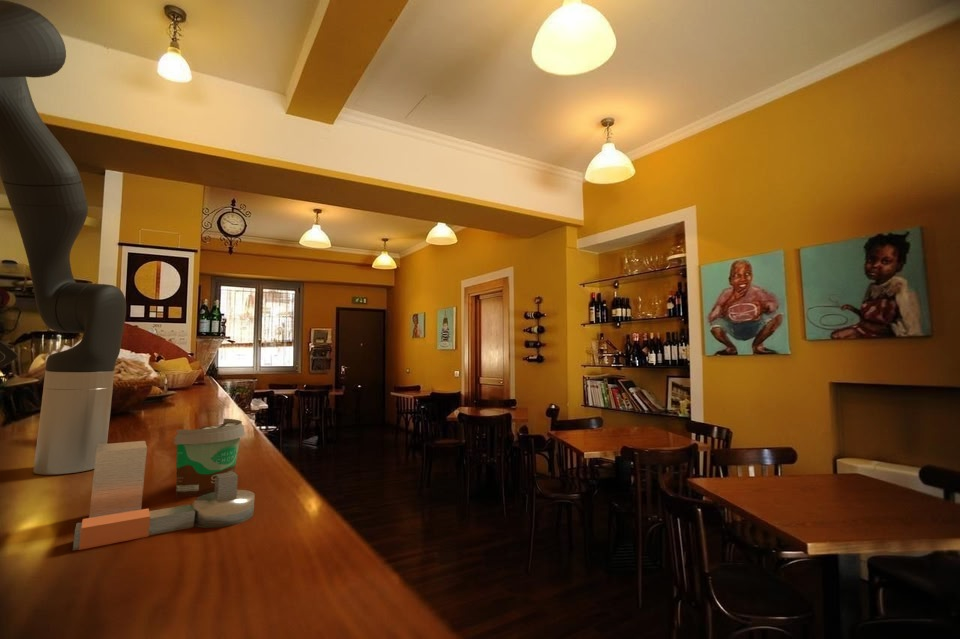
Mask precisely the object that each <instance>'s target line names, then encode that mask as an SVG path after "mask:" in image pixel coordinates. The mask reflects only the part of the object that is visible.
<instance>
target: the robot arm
mask: <svg viewBox="0 0 960 639" xmlns="http://www.w3.org/2000/svg"><path fill="white" fill-rule="evenodd" d="M66 58H67V49H66V45H65V42H64V39H63V37H62V35H61V33H60V32H59V30H58V29H57V28H56V26H55V25H54V24H53V23H52V22H51V21H50V20H49V19H48V18H47V17H45V16H44V15H43V14H41V13H40V12H38V11H36V10H35V9H33V8H31V7H29V6H26V5H23V4H21V3H18V2H13V1H9V0H0V179H1V182H2V186H3V189H4V191H5V194H6V197H7V200H8V203H9V206H10V208H11V209H12V210H11V211H12V212H13V216H14V218H15V222H16V224H17V227H18V230H19V235H20V237H21V240H22V244H23V248H24V251H25V254H26V257H27V263H28V267H29V271H30V277H31V284H32V288H33V293H34V298H35V304H36V307H37V310H38V314H39V316H40V318H41V320H42V322H43V324H45V326H46V327H47V328H49V329H50V330H51V331H52V330H53V331H54V332H57V333H68V334H71V333H72V334H82V338H81V340H80V341H79V342H78V343H77V344H76V345H74V346H73V347H70V348H68V349H66V350H65V349H64V350H61V351H58V352H55V353H52V354H50V355H49V356H48V357H47V359H46V362H45V368H44V369H45V373H44V379H43V387H42V388H43V390H42V397H41V406H40V413H39V414H40V415H39V421H38V422H39V423H38V429H37V430H38V431H37V440H36V447H35V455H34V462H33V463H34V464H33V473H34V474H37V475H45V476H46V475H63V474H74V473H80V472H85V471H90V470H94V468H95V458H96V450H97V445H99V444H108V439H109V438H108V437H109V436H108V435H109V427H110V418H111V411H112V410H111V409H112V399H113V398H112V397H113V390H114V380H115V370H116V369H115V368H116V363H117V360H118V358H119V356H120V353H121V346H122V340H123V333H124V328H125V324H126V323H125V322H126V317H127V301H126V297H125V294H124V292H123V290H121V289H120V288H119V287H118V286H115V285H114V284H113V285H111V284H105V283H88V282H76V280H75V278H74V274H73V272H72V267H71V252H72V251H71V250H72V249H73V246H74V243H75V241H76V240H77V238H78V236H79V234H80V232H81V231H82V229H83V227H84V225H85V222H86V221H87V220H86V219H87V218H88V214H89V206H88V205H89V204H88V200H87V196H86V194H85V193H86V192H85V189H84V184H83V181H82V178H81V174H80V173H79V169H78V167H77V165H76V163H74V161H73V159H72V158H71V155H70V154H69V153H68V152H67V151H66V150H65V148H64V147H63V145H62V144H61V143H60V141H58V139H57V138H56V137H55V135H54V134H53V133H52V131H50V129H49V128H48V127H47V125H46V124H45V123H44V121H43V119H42V118H41V116H40V114H39V113H38V110H37V108H36V107H35V104H34V102H33V98H32V94H31V92H30V88H29V85H28V80H27V78H34V79H35V78H46V77H50V76H52V75H54V74H56V73H59V71H61V69H62V68H63V67H64V65H65V62H66V60H67V59H66ZM18 357H19V354H18V353H17V352H16V351H14V350H13V349H12V348H11V347H9V346H8V345H7V344H5V343H4V342H3V341H1V340H0V368H3V367H5V366H7V365H9V364H10V363H12V362H14V361H15V360H17V359H18Z"/></svg>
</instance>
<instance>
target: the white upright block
mask: <svg viewBox="0 0 960 639" xmlns="http://www.w3.org/2000/svg"><path fill="white" fill-rule="evenodd" d="M147 450H148V446H147V442H146V440H138V441H127V442H126V441H125V442H114V443H113V442H112V443H107V444H99V445H97V450H96V458H95V468H94V469H93V478H92V486H91V497H90V507H89V515H88V518H92V517H99V516H105V515H111V514H117V513H123V512H129V511H135V510H142V505H143V496H144V495H143V494H144V493H143V492H144V483H145V472H146V462H147Z"/></svg>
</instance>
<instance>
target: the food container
mask: <svg viewBox="0 0 960 639" xmlns="http://www.w3.org/2000/svg"><path fill="white" fill-rule="evenodd" d="M222 421H223V423H221V424H219V425H218V424H217V425H214V426H213V425H212V426H211V425H207V426H202V427H200V428H197V429H177V434H175V438H174V442H173V444H174V445H176V482H175V483H176V485H175V487H176V488H175V497H182V498H183V497H184V498H186V497H196V496H198V497H199V496H203V495H206V494H209V493H213V492H215V481H216V474H222V473H229V472H235V470H236V464H237V460H238V452H239V446H240V441H241V439H240V438H242V437H244V436H245V435H246V432H245V426H244V425H243V421H241V420H240V419H237V418H236V419H234V418H223V420H222Z"/></svg>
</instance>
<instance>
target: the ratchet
mask: <svg viewBox="0 0 960 639" xmlns="http://www.w3.org/2000/svg"><path fill="white" fill-rule="evenodd" d="M238 480H239V475H238V474H237V473H236V472H235V471H234V472H229V473H222V474H216V481H215V492H213V493H209V494H205V495H199V496H198V497H197V498H195V499H194V500H193V503H191V504H184V505H179V506H172V507H166V508H161V509H155V510H150V509H149V507H148V508H141V510H135V511H129V512H123V513H117V514H111V515H105V516H99V517H92V518H89V517H87V518H83V519H82V521H80V522H77V523H76V525H75V529H74V536H73V545H72V551H76V550H79V551H81V550H86V549H90V548H95V547H101V546H107V545H111V544H115V543H116V544H117V543H120V542H121V543H123V542H126V541H132V540H137V539H143V538H146V537H149V536H154V535H159V534H164V533H169V532H174V531H180V530H185V529H190V528H194V527H198V528H203V529H216V528H226V527H230V526H235V525H238V524H241V523H243V522H245V521H246V522H247V521H248V520H249V519H251V518H252V517H253V516H254V511H255V510H254V509H255V498H256V497H255V496H256V494H255V493H254V492H253V491H250V490H246V489H238V483H239V482H238Z"/></svg>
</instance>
